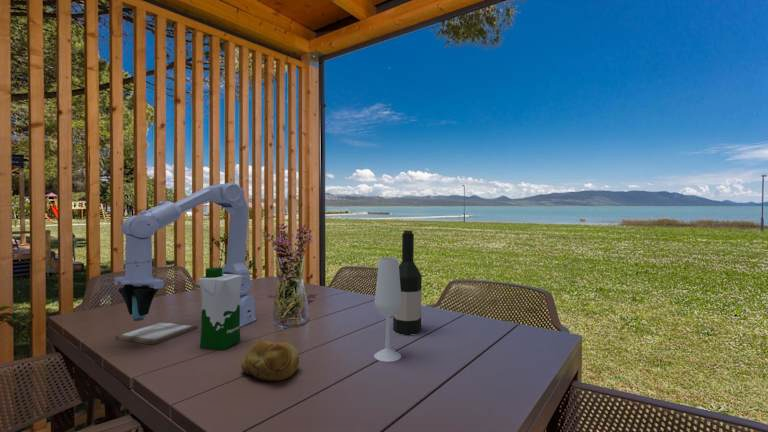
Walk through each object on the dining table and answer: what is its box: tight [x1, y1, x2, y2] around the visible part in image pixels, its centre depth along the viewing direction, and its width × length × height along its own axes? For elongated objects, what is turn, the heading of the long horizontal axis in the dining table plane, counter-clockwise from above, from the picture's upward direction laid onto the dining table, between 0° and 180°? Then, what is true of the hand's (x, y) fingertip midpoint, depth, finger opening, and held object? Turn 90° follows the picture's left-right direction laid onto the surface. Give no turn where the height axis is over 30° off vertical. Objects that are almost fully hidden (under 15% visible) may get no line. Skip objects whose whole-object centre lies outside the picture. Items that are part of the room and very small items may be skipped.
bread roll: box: [240, 340, 300, 382], centre depth 78 cm, size 13×10×8 cm
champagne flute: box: [373, 257, 402, 363], centre depth 88 cm, size 7×7×24 cm
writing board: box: [114, 320, 198, 346], centre depth 103 cm, size 14×14×1 cm
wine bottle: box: [392, 230, 423, 336], centre depth 107 cm, size 8×8×30 cm
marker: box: [131, 294, 146, 322], centre depth 93 cm, size 3×3×6 cm
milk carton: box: [198, 267, 242, 351], centre depth 95 cm, size 9×9×20 cm
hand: (138, 314), depth 93 cm, fingers closed on marker, 3 cm apart
